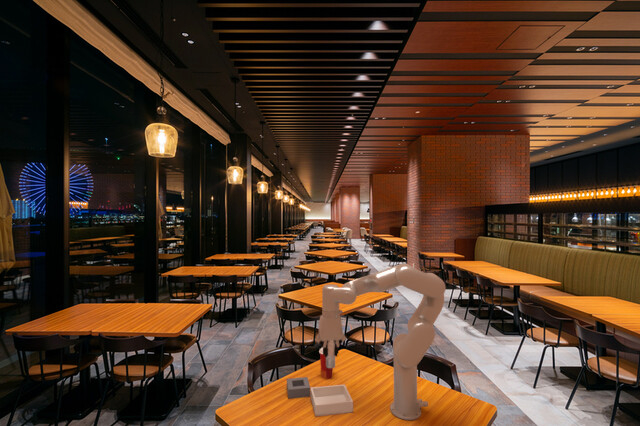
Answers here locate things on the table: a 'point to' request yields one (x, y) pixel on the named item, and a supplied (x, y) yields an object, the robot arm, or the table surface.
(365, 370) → the table surface
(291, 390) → the block
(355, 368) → the table surface
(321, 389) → the tray
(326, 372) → the paper cup
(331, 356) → the pin
